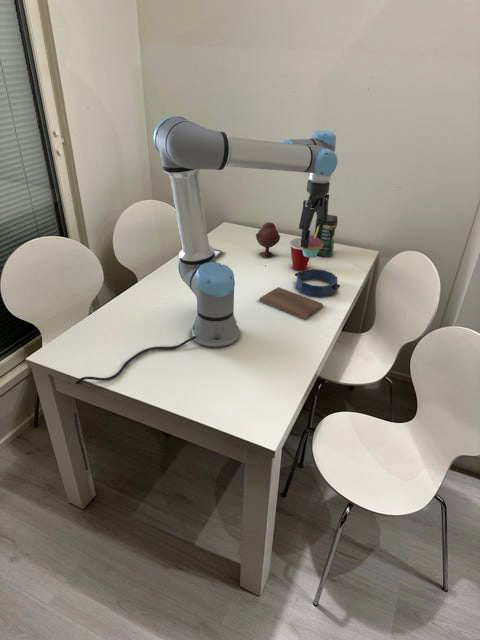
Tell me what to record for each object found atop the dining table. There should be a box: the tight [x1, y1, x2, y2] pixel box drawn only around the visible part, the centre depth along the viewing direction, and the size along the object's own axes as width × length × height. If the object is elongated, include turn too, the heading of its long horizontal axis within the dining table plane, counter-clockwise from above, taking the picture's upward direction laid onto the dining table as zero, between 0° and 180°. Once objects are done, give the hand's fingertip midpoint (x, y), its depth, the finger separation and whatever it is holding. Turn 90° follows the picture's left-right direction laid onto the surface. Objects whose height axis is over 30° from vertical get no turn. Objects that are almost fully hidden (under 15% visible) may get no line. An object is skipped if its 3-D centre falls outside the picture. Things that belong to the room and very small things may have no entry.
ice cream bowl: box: [255, 221, 281, 259], centre depth 204 cm, size 11×11×15 cm
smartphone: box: [214, 248, 223, 259], centre depth 204 cm, size 7×1×15 cm
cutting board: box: [259, 286, 324, 320], centre depth 169 cm, size 12×20×2 cm, turn 51°
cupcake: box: [299, 224, 323, 259], centre depth 165 cm, size 9×8×12 cm
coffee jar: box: [314, 214, 338, 258], centre depth 206 cm, size 10×8×19 cm
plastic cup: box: [288, 237, 311, 272], centre depth 194 cm, size 11×11×12 cm
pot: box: [294, 268, 341, 298], centre depth 180 cm, size 16×19×4 cm
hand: (310, 243), depth 166 cm, fingers closed on cupcake, 8 cm apart
